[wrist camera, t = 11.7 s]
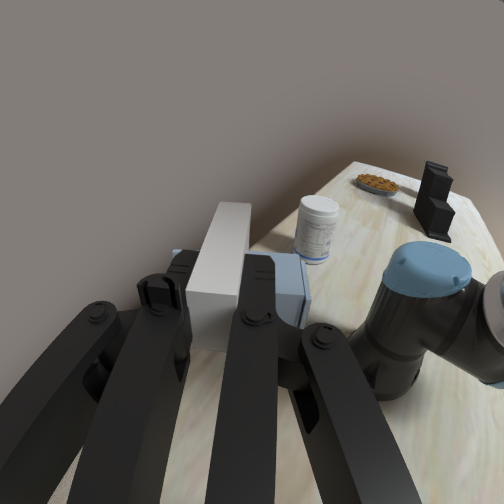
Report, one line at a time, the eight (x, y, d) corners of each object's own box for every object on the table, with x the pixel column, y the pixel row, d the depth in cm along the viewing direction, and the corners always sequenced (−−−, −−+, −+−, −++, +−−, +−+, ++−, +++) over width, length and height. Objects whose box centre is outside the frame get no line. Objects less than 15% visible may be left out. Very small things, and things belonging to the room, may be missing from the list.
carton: (293, 315, 53) (305, 254, 46) (295, 357, 45) (312, 295, 37) (235, 311, 54) (237, 249, 46) (229, 353, 45) (229, 290, 37)
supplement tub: (295, 242, 77) (302, 192, 69) (329, 249, 75) (339, 198, 67) (289, 262, 69) (297, 206, 61) (327, 269, 67) (340, 214, 59)
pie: (363, 178, 138) (365, 169, 135) (401, 192, 127) (403, 183, 124) (349, 186, 123) (351, 176, 121) (392, 202, 112) (395, 191, 109)
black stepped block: (451, 243, 84) (471, 184, 71) (427, 238, 86) (446, 176, 73) (433, 217, 103) (447, 166, 90) (412, 212, 105) (425, 159, 92)
